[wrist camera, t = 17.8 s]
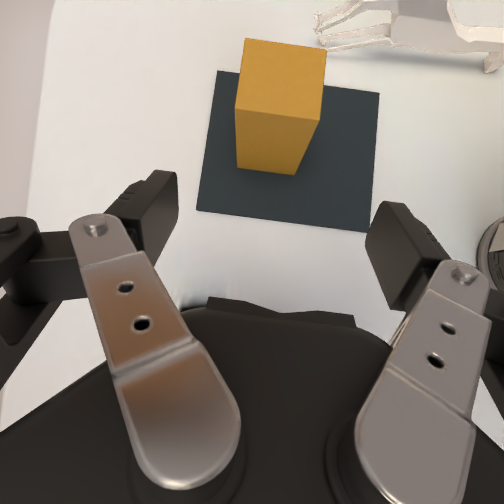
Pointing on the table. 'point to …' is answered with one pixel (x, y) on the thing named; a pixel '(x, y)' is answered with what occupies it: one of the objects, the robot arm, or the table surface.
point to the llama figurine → (417, 29)
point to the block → (277, 104)
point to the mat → (309, 170)
